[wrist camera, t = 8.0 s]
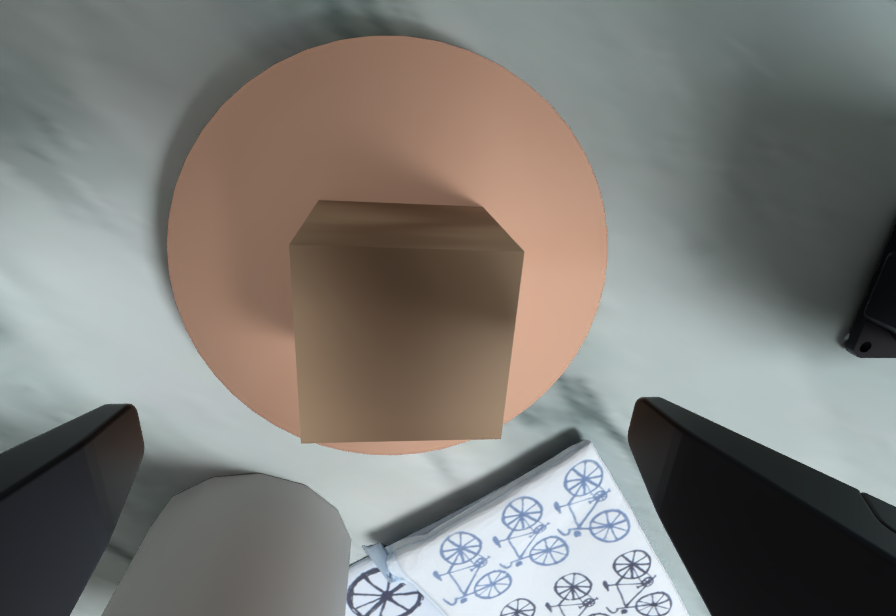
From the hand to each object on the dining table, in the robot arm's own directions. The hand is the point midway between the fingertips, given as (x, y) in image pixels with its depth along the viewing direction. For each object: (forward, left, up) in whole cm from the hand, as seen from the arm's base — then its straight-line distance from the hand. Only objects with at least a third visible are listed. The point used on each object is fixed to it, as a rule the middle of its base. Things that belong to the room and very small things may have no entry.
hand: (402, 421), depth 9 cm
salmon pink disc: (0, 0, -9) cm, 9 cm away
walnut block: (0, 0, -8) cm, 8 cm away
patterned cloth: (-5, +20, -10) cm, 23 cm away
